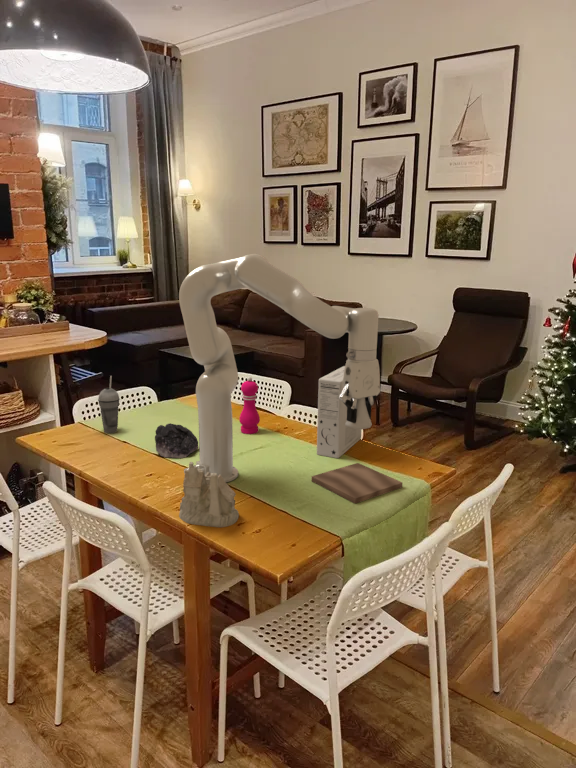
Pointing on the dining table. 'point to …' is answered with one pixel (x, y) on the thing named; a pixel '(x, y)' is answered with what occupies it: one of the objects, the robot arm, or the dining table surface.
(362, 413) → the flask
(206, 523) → the miniature castle
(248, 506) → the dining table surface
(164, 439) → the crystal cluster
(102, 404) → the beverage cup
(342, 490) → the walnut board
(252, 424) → the pepper mill
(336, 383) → the cereal box
